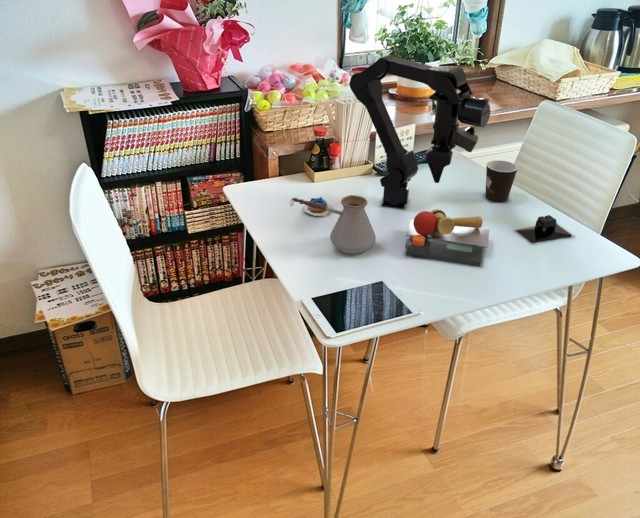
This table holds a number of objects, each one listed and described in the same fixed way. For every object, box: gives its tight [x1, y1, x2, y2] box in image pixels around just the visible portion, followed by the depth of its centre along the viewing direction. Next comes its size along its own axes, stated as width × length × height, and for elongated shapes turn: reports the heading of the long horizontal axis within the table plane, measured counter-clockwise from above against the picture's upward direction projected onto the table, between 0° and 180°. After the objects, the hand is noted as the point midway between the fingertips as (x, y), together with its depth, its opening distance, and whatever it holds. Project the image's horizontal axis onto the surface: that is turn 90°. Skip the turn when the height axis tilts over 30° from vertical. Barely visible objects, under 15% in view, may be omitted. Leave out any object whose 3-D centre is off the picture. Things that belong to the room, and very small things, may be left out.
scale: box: [404, 237, 484, 267], centre depth 149 cm, size 18×15×3 cm
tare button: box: [412, 235, 425, 246], centre depth 146 cm, size 3×3×2 cm
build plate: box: [516, 214, 573, 244], centre depth 155 cm, size 12×7×5 cm, turn 109°
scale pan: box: [405, 218, 490, 248], centre depth 150 cm, size 20×9×1 cm, turn 73°
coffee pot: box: [289, 194, 377, 255], centre depth 145 cm, size 21×12×15 cm, turn 101°
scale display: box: [446, 244, 472, 253], centre depth 144 cm, size 6×2×1 cm, turn 73°
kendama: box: [413, 208, 483, 235], centre depth 149 cm, size 8×6×18 cm
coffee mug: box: [484, 159, 519, 203], centre depth 173 cm, size 12×9×10 cm
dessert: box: [303, 196, 331, 217], centre depth 167 cm, size 8×7×6 cm
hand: (439, 175), depth 159 cm, fingers open, 9 cm apart
